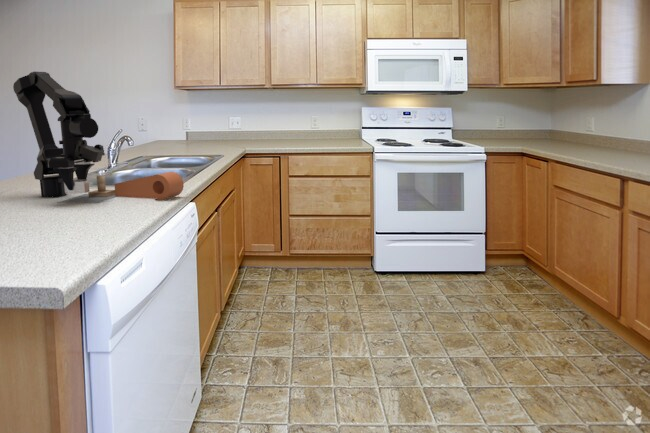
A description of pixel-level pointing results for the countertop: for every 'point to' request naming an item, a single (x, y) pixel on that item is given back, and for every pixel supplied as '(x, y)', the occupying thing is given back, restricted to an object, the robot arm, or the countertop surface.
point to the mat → (86, 199)
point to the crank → (151, 186)
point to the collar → (78, 186)
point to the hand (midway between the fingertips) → (76, 188)
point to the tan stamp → (101, 188)
